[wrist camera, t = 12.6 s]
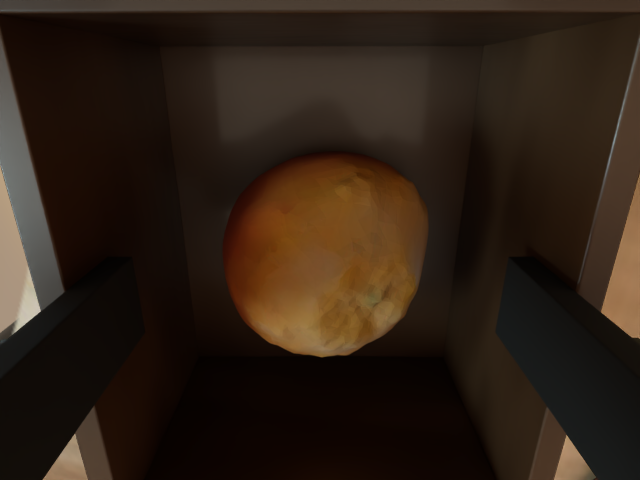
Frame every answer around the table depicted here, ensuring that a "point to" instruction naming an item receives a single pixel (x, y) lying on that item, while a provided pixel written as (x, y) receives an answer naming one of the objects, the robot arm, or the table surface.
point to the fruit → (325, 252)
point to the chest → (296, 140)
